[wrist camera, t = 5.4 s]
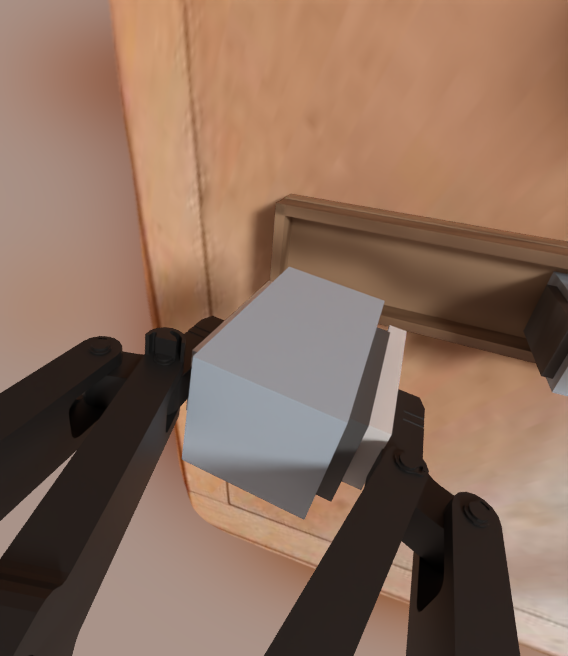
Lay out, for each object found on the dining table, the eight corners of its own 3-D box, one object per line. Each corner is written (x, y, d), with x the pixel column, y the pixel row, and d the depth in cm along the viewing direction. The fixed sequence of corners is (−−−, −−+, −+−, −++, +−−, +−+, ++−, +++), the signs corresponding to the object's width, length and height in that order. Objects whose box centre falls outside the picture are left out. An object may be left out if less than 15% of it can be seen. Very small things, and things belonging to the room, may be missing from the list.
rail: (291, 193, 30) (240, 219, 23) (668, 259, 24) (777, 325, 16) (282, 282, 35) (237, 329, 27) (601, 358, 28) (664, 450, 20)
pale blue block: (289, 266, 17) (193, 356, 10) (398, 305, 16) (370, 432, 9) (269, 345, 19) (181, 459, 13) (363, 383, 18) (321, 528, 12)
